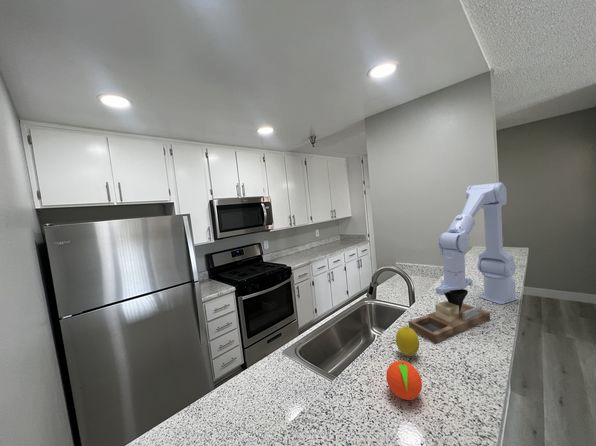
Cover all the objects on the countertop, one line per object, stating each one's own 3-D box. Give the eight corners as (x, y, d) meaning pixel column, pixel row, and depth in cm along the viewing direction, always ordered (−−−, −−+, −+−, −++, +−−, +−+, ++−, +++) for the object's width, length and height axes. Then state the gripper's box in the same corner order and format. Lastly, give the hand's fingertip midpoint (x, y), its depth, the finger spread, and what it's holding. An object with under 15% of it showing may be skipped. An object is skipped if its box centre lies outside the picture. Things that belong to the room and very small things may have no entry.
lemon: (422, 363, 59) (421, 332, 58) (399, 362, 60) (397, 332, 59) (416, 349, 64) (414, 321, 63) (394, 348, 65) (393, 321, 65)
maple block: (445, 312, 77) (444, 300, 77) (459, 318, 73) (458, 305, 73) (435, 316, 75) (435, 304, 75) (449, 322, 71) (448, 309, 71)
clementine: (428, 416, 45) (426, 381, 44) (389, 410, 47) (387, 377, 46) (418, 384, 52) (417, 354, 52) (385, 380, 54) (383, 351, 54)
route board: (461, 309, 83) (461, 302, 83) (490, 319, 75) (489, 312, 75) (408, 329, 74) (408, 321, 74) (435, 343, 66) (434, 335, 65)
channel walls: (455, 305, 81) (454, 298, 81) (480, 314, 74) (480, 307, 74) (440, 310, 78) (439, 303, 78) (465, 321, 71) (465, 313, 71)
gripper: (456, 263, 81) (458, 301, 82) (426, 271, 75) (428, 312, 76) (479, 267, 74) (480, 309, 75) (447, 277, 69) (449, 321, 70)
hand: (455, 311), depth 75 cm, fingers closed
